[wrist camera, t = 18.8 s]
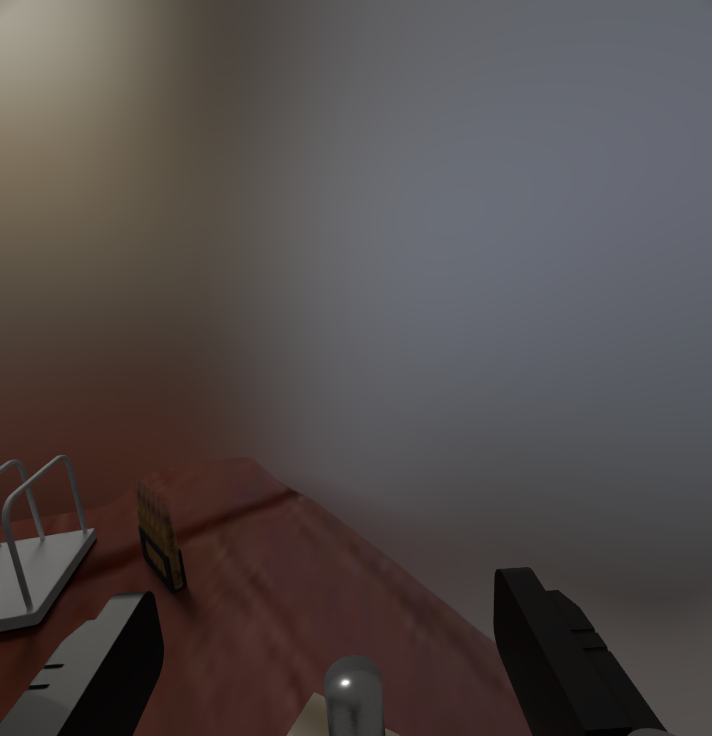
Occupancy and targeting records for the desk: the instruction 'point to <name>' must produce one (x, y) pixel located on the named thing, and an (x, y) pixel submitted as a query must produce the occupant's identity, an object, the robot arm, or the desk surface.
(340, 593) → the desk surface
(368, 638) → the desk surface
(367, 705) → the steel pin
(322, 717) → the socket block
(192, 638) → the desk surface
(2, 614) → the file sorter
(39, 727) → the robot arm
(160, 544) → the ammunition clip
